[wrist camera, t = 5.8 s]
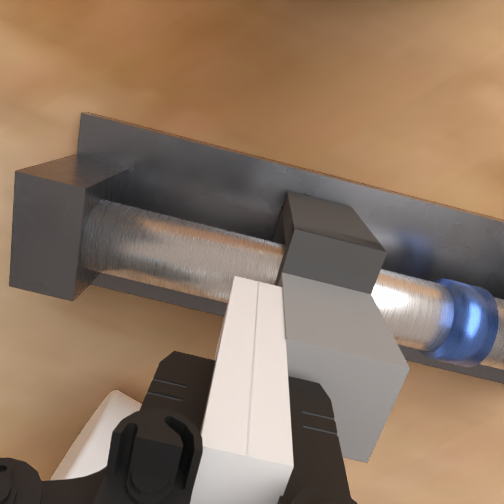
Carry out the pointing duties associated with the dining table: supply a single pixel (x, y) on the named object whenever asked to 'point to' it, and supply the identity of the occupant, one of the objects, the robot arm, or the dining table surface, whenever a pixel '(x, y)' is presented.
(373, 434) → the collar
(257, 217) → the pipe rig
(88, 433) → the mug
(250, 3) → the dining table surface
